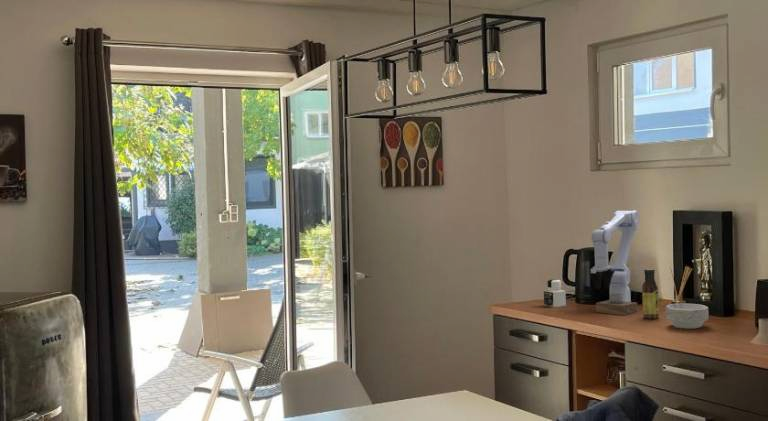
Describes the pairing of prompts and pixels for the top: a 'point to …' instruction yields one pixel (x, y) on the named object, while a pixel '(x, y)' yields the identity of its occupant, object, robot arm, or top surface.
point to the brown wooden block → (616, 307)
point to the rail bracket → (615, 298)
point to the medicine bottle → (554, 294)
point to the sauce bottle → (650, 295)
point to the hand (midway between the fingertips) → (602, 287)
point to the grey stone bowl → (687, 315)
